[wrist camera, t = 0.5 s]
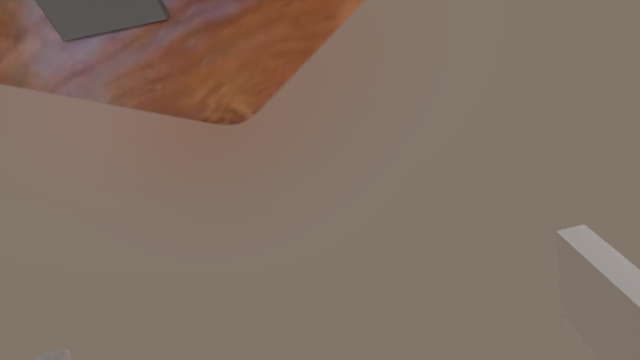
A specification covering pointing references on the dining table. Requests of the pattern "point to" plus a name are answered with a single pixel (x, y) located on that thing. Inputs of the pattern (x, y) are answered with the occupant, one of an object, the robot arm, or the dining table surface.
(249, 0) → the dining table surface
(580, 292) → the robot arm
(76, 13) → the rubber pad
